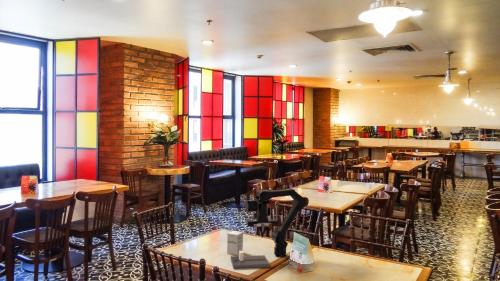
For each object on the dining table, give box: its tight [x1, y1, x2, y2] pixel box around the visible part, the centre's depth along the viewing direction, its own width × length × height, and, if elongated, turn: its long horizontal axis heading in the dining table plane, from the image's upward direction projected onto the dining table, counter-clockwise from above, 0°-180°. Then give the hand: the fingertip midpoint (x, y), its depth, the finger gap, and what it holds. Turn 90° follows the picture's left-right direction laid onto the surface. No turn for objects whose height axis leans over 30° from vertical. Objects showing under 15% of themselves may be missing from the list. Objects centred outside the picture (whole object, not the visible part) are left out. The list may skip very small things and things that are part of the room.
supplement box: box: [226, 230, 244, 256], centre depth 237 cm, size 7×7×13 cm
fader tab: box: [238, 251, 245, 261], centre depth 219 cm, size 2×4×5 cm, turn 9°
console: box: [230, 254, 270, 270], centre depth 220 cm, size 20×14×2 cm
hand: (262, 237), depth 230 cm, fingers closed
